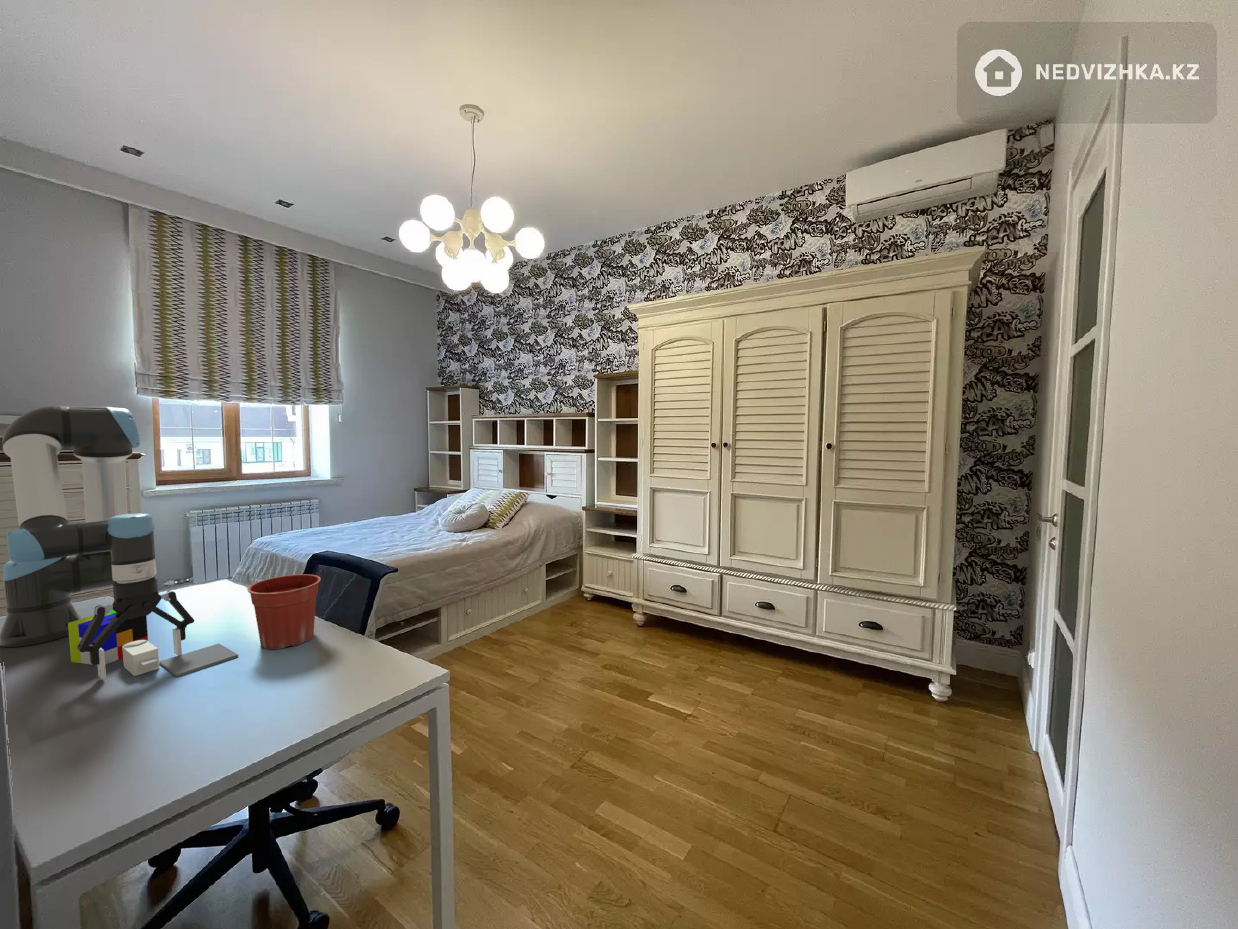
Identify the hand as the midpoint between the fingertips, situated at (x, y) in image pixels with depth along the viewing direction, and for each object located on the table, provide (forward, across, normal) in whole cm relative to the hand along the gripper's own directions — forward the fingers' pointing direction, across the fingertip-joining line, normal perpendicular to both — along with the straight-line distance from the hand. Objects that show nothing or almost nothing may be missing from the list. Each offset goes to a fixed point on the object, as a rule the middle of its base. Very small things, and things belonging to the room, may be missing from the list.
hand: (141, 665), depth 118 cm
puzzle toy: (+1, -2, +16) cm, 16 cm away
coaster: (+1, +9, -7) cm, 11 cm away
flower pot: (+1, +26, -13) cm, 29 cm away
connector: (+1, 0, 0) cm, 1 cm away
